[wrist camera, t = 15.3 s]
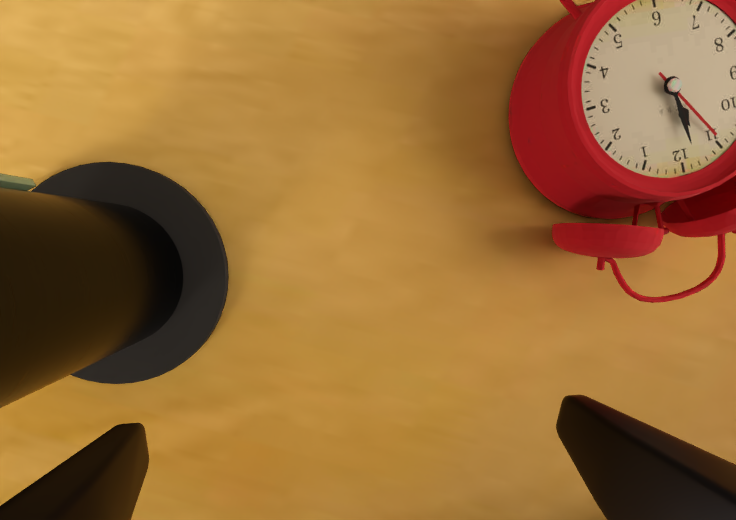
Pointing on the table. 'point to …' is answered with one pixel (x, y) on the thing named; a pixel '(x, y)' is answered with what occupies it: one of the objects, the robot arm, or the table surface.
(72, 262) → the labeled black canister
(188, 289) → the base
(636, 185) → the alarm clock
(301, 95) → the table surface
